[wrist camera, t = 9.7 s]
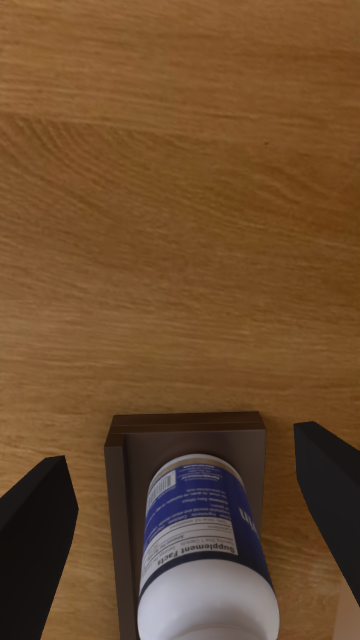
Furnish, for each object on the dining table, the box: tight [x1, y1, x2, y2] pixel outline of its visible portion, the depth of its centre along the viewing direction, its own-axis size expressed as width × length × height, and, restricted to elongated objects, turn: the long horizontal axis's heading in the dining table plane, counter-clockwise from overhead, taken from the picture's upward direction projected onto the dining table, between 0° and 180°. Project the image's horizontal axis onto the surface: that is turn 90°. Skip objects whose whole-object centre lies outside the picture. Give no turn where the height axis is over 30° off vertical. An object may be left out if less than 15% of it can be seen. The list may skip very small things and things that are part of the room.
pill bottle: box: [138, 454, 279, 640], centre depth 15 cm, size 6×6×10 cm
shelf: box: [104, 411, 267, 640], centre depth 23 cm, size 9×28×3 cm, turn 1°
